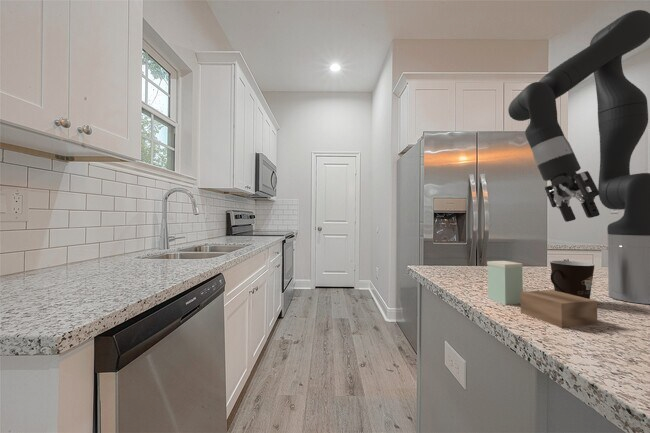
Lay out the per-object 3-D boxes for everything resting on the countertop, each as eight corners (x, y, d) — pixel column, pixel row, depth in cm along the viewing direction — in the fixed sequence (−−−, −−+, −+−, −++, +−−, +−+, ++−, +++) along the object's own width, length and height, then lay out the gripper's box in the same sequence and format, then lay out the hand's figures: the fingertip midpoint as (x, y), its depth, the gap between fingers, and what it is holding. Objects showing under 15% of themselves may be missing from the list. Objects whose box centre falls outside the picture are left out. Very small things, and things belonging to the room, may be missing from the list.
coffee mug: (576, 297, 75) (575, 260, 75) (605, 307, 67) (604, 266, 67) (531, 296, 76) (530, 260, 77) (553, 305, 68) (553, 265, 68)
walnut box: (552, 311, 65) (552, 289, 65) (597, 325, 56) (596, 300, 56) (520, 313, 63) (520, 292, 63) (561, 328, 54) (561, 303, 54)
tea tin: (504, 297, 75) (504, 260, 76) (523, 303, 70) (523, 263, 70) (487, 298, 74) (487, 261, 74) (505, 304, 69) (504, 264, 69)
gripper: (590, 143, 62) (622, 210, 59) (554, 162, 76) (579, 217, 73) (554, 154, 64) (583, 220, 61) (525, 171, 78) (548, 225, 75)
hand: (581, 219), depth 67 cm, fingers open, 8 cm apart
